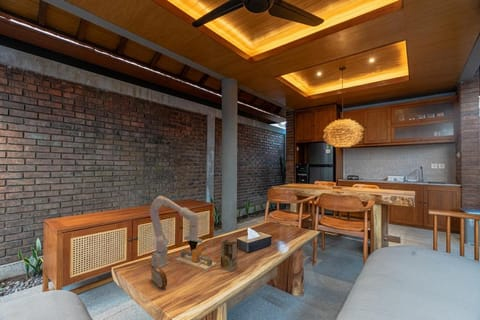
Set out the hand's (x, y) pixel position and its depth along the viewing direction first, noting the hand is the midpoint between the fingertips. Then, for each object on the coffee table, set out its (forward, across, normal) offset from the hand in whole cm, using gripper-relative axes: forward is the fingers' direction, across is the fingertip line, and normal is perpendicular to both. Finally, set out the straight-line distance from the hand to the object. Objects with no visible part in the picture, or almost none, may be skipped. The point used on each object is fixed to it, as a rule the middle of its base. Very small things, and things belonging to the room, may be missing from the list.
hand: (193, 251), depth 149 cm
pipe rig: (+6, -2, 0) cm, 7 cm away
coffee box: (+7, -26, -6) cm, 27 cm away
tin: (+7, -5, +32) cm, 33 cm away
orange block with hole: (+5, -3, 0) cm, 6 cm away
